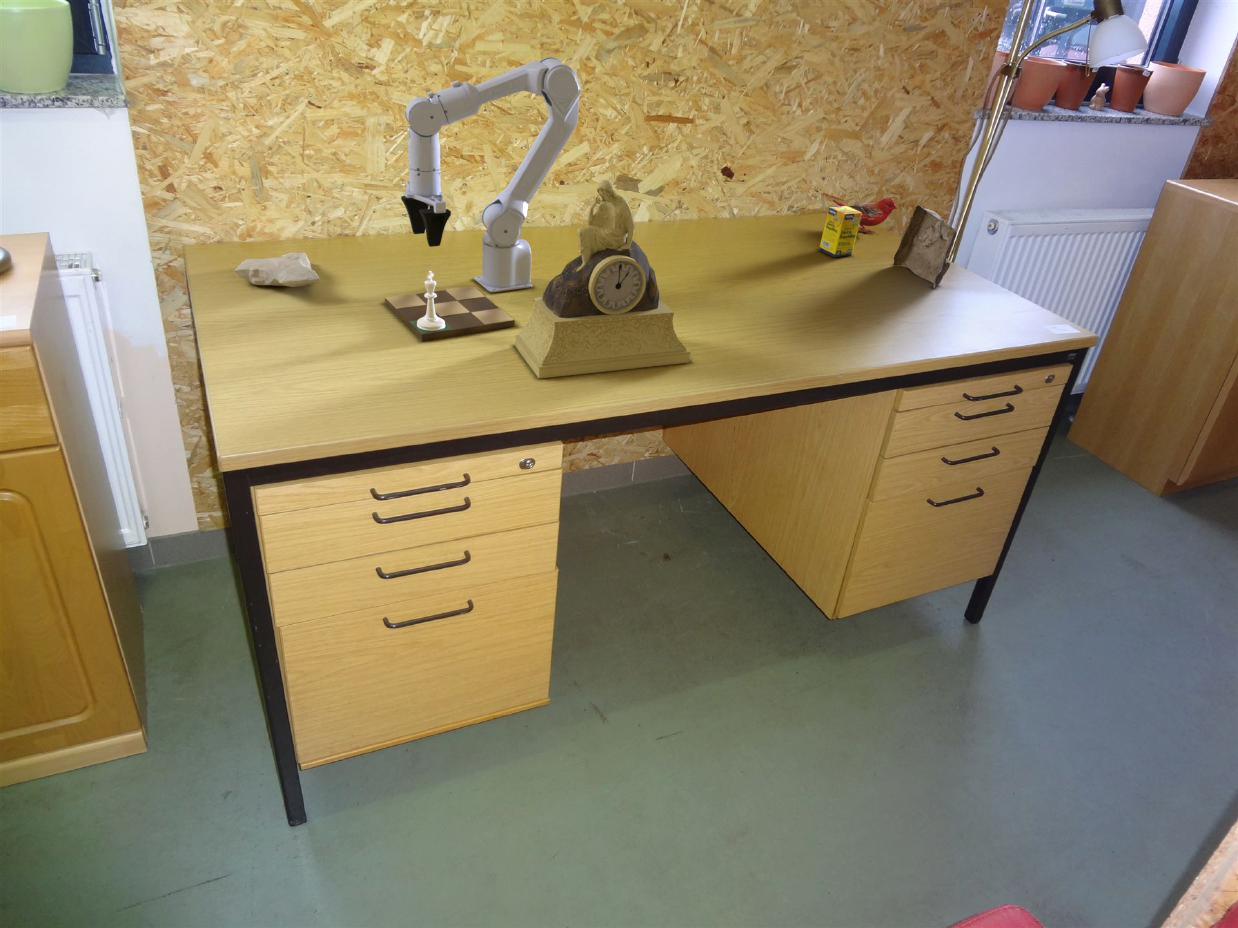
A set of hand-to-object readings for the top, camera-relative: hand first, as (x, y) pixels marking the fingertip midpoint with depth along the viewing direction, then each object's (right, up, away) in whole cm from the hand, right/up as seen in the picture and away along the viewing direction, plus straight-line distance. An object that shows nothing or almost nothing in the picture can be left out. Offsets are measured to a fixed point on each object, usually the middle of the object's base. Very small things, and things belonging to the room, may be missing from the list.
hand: (426, 239), depth 167 cm
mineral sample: (+109, +1, +39) cm, 116 cm away
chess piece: (+4, -19, -14) cm, 24 cm away
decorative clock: (+34, -24, -14) cm, 45 cm away
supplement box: (+92, +9, +49) cm, 104 cm away
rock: (-29, -9, 0) cm, 30 cm away
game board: (+6, -16, -6) cm, 18 cm away
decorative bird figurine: (+103, +20, +68) cm, 125 cm away
